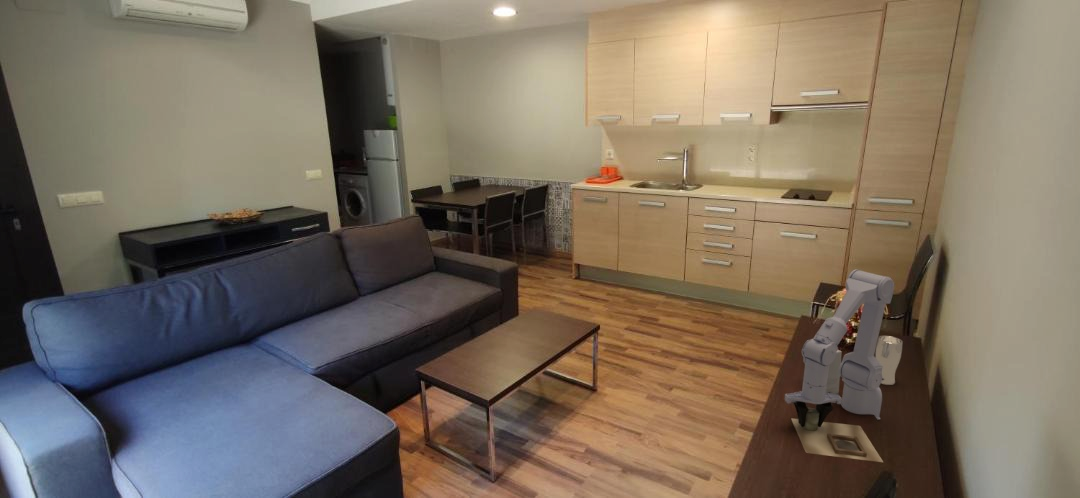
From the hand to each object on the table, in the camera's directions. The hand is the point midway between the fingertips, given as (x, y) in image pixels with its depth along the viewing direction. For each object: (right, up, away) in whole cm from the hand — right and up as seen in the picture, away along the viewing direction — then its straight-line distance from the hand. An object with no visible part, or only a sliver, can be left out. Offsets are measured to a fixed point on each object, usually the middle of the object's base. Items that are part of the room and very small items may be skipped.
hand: (809, 424), depth 139 cm
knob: (0, -1, 0) cm, 1 cm away
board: (+4, -3, -5) cm, 7 cm away
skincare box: (+16, +4, +22) cm, 27 cm away
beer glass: (+40, +5, +26) cm, 48 cm away
